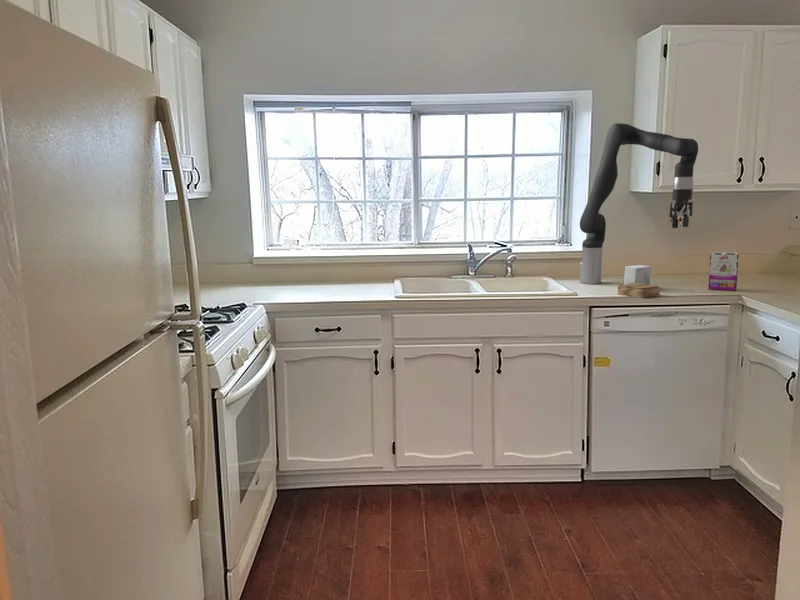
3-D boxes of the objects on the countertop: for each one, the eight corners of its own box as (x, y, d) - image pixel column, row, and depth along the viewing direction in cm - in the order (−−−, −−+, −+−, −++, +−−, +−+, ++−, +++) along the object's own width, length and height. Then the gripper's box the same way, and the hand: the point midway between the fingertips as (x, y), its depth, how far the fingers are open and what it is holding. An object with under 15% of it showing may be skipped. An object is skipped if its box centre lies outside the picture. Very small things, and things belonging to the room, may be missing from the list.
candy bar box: (736, 289, 278) (739, 252, 275) (736, 291, 274) (739, 253, 271) (708, 288, 283) (710, 251, 280) (707, 289, 279) (710, 252, 276)
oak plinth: (617, 294, 271) (618, 285, 270) (634, 291, 278) (634, 282, 277) (642, 298, 261) (642, 288, 261) (659, 294, 268) (659, 285, 268)
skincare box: (635, 291, 278) (636, 267, 276) (623, 289, 284) (624, 266, 282) (650, 289, 284) (651, 265, 282) (638, 287, 289) (639, 264, 287)
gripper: (682, 187, 268) (680, 226, 271) (665, 188, 259) (662, 228, 262) (700, 187, 262) (697, 227, 265) (682, 188, 253) (680, 228, 256)
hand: (680, 227), depth 264 cm, fingers open, 8 cm apart
